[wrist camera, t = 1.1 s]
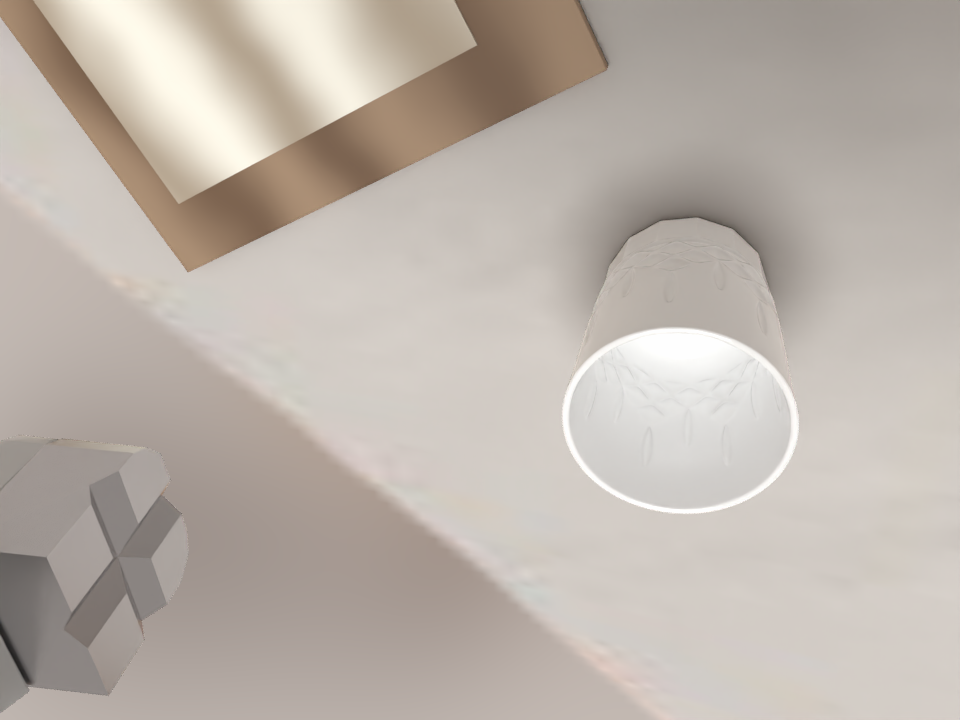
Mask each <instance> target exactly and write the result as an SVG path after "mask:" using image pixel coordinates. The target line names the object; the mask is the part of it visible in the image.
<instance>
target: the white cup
mask: <svg viewBox="0 0 960 720" xmlns="http://www.w3.org/2000/svg"><path fill="white" fill-rule="evenodd" d="M562 426H563V432H564V436H565V439H566V442H567V445H568V447H569V450H570V452H571V454H572V455H573V457H574V459H575V460H576V462H577V463H578V465H579V466H580V467H581V468H582V470H583V471H584V472H585V473H586V474H587V475H588V476H589V477H590V478H591V479H592V480H593V481H594V482H595V483H597V484H598V485H599V486H600V487H602V488H603V489H605V490H606V491H608V492H609V493H611V494H612V495H614V496H616V497H618V498H620V499H622V500H624V501H626V502H628V503H631V504H633V505H636V506H639V507H642V508H646V509H650V510H654V511H659V512H665V513H675V514H696V513H706V512H712V511H717V510H721V509H725V508H728V507H731V506H734V505H737V504H739V503H742V502H744V501H746V500H748V499H750V498H752V497H753V496H755V495H757V494H758V493H760V492H761V491H763V490H764V489H765V488H767V487H768V486H769V485H770V484H771V483H772V482H773V481H774V480H775V479H776V478H777V477H778V476H779V475H780V474H781V473H782V471H783V470H784V469H785V467H786V466H787V464H788V463H789V461H790V459H791V457H792V455H793V452H794V450H795V447H796V443H797V439H798V434H799V415H798V409H797V404H796V399H795V394H794V390H793V385H792V380H791V375H790V370H789V365H788V360H787V355H786V350H785V345H784V340H783V335H782V330H781V326H780V322H779V317H778V315H777V312H776V307H775V303H774V299H773V296H772V294H771V293H770V291H769V286H768V282H767V279H766V276H765V273H764V270H763V266H762V263H761V260H760V257H759V254H758V252H756V251H755V250H754V249H753V248H752V247H751V246H750V245H749V244H748V243H747V242H746V241H745V240H744V239H743V238H742V237H741V236H740V235H739V234H738V233H737V232H736V231H734V230H733V229H731V228H728V227H725V226H722V225H719V224H716V223H713V222H710V221H707V220H704V219H701V218H697V217H696V218H685V219H675V220H664V221H659V222H657V223H655V224H654V225H652V226H650V227H648V228H646V229H645V230H643V231H641V232H639V233H637V234H636V235H634V236H632V237H630V238H629V239H628V240H627V242H626V243H625V244H624V246H623V247H622V249H621V250H620V252H619V253H618V254H617V256H616V257H615V259H614V260H613V261H612V263H611V264H610V266H609V269H608V272H607V276H606V279H605V283H604V285H603V287H602V289H601V291H600V293H599V295H598V298H597V300H596V302H595V306H594V309H593V312H592V315H591V317H590V319H589V322H588V324H587V327H586V331H585V334H584V337H583V340H582V343H581V347H580V350H579V353H578V356H577V359H576V362H575V366H574V369H573V372H572V375H571V378H570V381H569V384H568V387H567V390H566V393H565V396H564V401H563V406H562Z"/></svg>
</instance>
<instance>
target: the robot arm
mask: <svg viewBox="0 0 960 720" xmlns="http://www.w3.org/2000/svg"><path fill="white" fill-rule="evenodd" d="M170 480H171V479H170V477H169V474H168V471H167V469H166V466H165V463H164V461H163V458H162V455H161V454H160V453H158V452H156V451H153V450H151V449H149V448H146V447H136V446H128V445H118V444H108V443H100V442H90V441H81V440H72V439H53V438H44V437H35V436H25V435H18V436H14V437H11V438H8V439H4V440H2V441H1V442H0V713H1V712H3V711H4V710H5V709H6V708H8V707H9V706H11V705H12V704H13V703H15V702H16V701H17V700H18V699H20V698H21V697H23V696H24V695H25V694H27V693H28V692H29V688H28V687H37V688H45V689H54V690H63V691H71V692H80V693H89V694H98V695H106V696H109V694H110V693H111V691H112V690H113V688H114V687H115V685H116V684H117V682H118V680H119V679H120V677H121V676H122V674H123V673H124V671H125V670H126V668H127V666H128V665H129V663H130V662H131V660H132V659H133V657H134V656H135V654H136V653H137V651H138V649H139V648H140V646H141V645H142V643H143V642H144V640H145V639H144V632H143V625H142V620H143V619H145V618H147V617H148V616H150V615H151V614H153V613H154V612H156V611H158V610H159V609H161V608H163V607H164V606H166V605H167V604H168V602H169V601H170V599H171V597H172V596H173V594H174V593H175V591H176V589H177V588H178V586H179V584H180V583H181V579H182V576H183V572H184V569H185V564H186V561H187V557H188V535H187V529H186V526H185V522H184V519H183V516H182V513H181V512H180V511H178V510H177V509H176V508H175V507H174V506H173V505H172V504H171V503H170V502H169V501H168V500H167V499H166V498H165V497H164V496H163V493H164V491H165V490H166V488H167V486H168V484H169V482H170Z"/></svg>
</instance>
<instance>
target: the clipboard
mask: <svg viewBox="0 0 960 720" xmlns="http://www.w3.org/2000/svg"><path fill="white" fill-rule="evenodd" d="M0 17H1V18H2V20H3V21H4V23H5V24H6V25H7V27H8V28H9V29H10V31H11V32H12V33H13V35H14V36H15V38H16V39H17V40H18V42H19V43H20V44H21V46H22V47H23V48H24V50H25V51H26V53H27V54H28V55H29V57H30V58H31V59H32V61H33V62H34V63H35V65H36V66H37V67H38V69H39V70H40V72H41V73H42V74H43V76H44V77H45V78H46V80H47V81H48V82H49V84H50V85H51V87H52V88H53V89H54V91H55V92H56V93H57V95H58V96H59V97H60V99H61V100H62V101H63V103H64V104H65V106H66V107H67V108H68V110H69V111H70V112H71V114H72V115H73V116H74V118H75V119H76V121H77V122H78V123H79V125H80V126H81V127H82V129H83V130H84V131H85V133H86V134H87V135H88V137H89V138H90V140H91V141H92V142H93V144H94V145H95V146H96V148H97V149H98V150H99V152H100V153H101V155H102V156H103V157H104V159H105V160H106V161H107V163H108V164H109V165H110V167H111V168H112V170H113V171H114V172H115V174H116V175H117V176H118V178H119V179H120V180H121V182H122V183H123V184H124V186H125V187H126V189H127V190H128V191H129V193H130V194H131V195H132V197H133V198H134V199H135V201H136V202H137V204H138V205H139V206H140V208H141V209H142V210H143V212H144V213H145V214H146V216H147V217H148V218H149V220H150V221H151V223H152V224H153V225H154V227H155V228H156V229H157V231H158V232H159V233H160V235H161V236H162V238H163V239H164V240H165V242H166V243H167V244H168V246H169V247H170V248H171V250H172V251H173V252H174V254H175V255H176V257H177V258H178V259H179V261H180V262H181V263H182V265H183V266H184V267H185V269H186V270H187V272H190V271H192V270H194V269H196V268H198V267H200V266H202V265H204V264H206V263H208V262H211V261H213V260H215V259H217V258H219V257H221V256H223V255H225V254H227V253H229V252H231V251H233V250H235V249H237V248H239V247H242V246H244V245H246V244H248V243H250V242H252V241H254V240H256V239H258V238H260V237H262V236H264V235H266V234H268V233H271V232H273V231H275V230H277V229H279V228H281V227H283V226H285V225H287V224H289V223H291V222H293V221H295V220H297V219H299V218H302V217H304V216H306V215H308V214H310V213H312V212H314V211H316V210H318V209H320V208H322V207H324V206H326V205H328V204H330V203H333V202H335V201H337V200H339V199H341V198H343V197H345V196H347V195H349V194H351V193H353V192H355V191H357V190H359V189H362V188H364V187H366V186H368V185H370V184H372V183H374V182H376V181H378V180H380V179H382V178H384V177H386V176H388V175H390V174H393V173H395V172H397V171H399V170H401V169H403V168H405V167H407V166H409V165H411V164H413V163H415V162H417V161H419V160H422V159H424V158H426V157H428V156H430V155H432V154H434V153H436V152H438V151H440V150H442V149H444V148H446V147H448V146H450V145H453V144H455V143H457V142H459V141H461V140H463V139H465V138H467V137H469V136H471V135H473V134H475V133H477V132H479V131H481V130H484V129H486V128H488V127H490V126H492V125H494V124H496V123H498V122H500V121H502V120H504V119H506V118H508V117H510V116H513V115H515V114H517V113H519V112H521V111H523V110H525V109H527V108H529V107H531V106H533V105H535V104H537V103H539V102H541V101H544V100H546V99H548V98H550V97H552V96H554V95H556V94H558V93H560V92H562V91H564V90H566V89H568V88H570V87H572V86H575V85H577V84H579V83H581V82H583V81H585V80H587V79H589V78H591V77H593V76H595V75H597V74H599V73H601V72H604V71H606V70H607V68H608V64H607V62H606V60H605V58H604V55H603V53H602V51H601V49H600V47H599V45H598V42H597V40H596V38H595V36H594V34H593V32H592V29H591V27H590V25H589V23H588V21H587V19H586V16H585V14H584V12H583V10H582V8H581V6H580V3H579V1H578V0H0Z"/></svg>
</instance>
